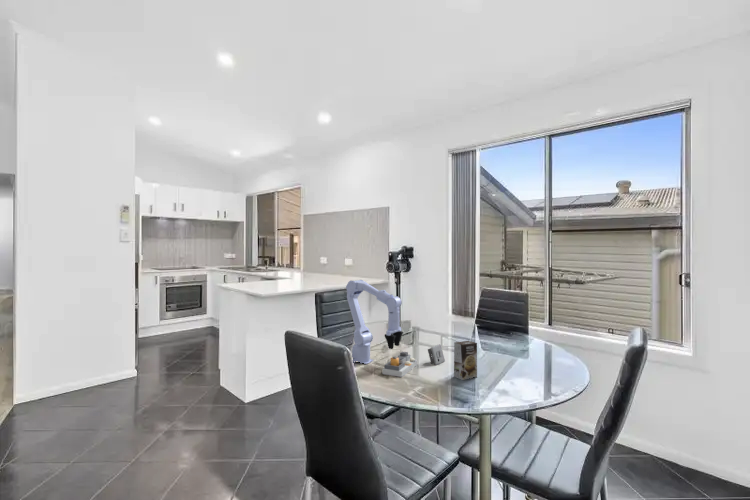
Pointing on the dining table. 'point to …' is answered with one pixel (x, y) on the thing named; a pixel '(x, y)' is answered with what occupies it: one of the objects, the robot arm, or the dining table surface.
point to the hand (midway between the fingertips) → (393, 347)
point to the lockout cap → (395, 361)
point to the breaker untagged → (404, 354)
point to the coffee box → (465, 359)
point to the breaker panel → (400, 367)
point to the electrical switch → (436, 354)
